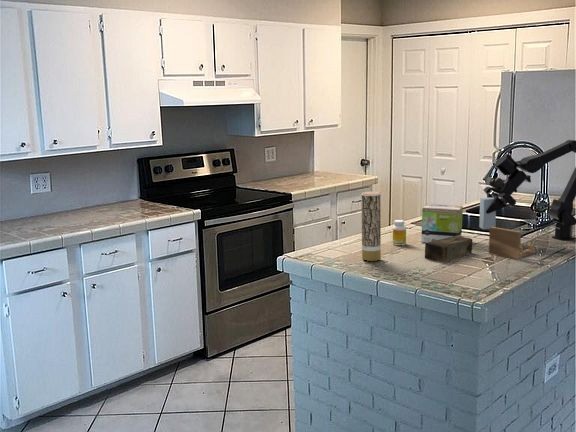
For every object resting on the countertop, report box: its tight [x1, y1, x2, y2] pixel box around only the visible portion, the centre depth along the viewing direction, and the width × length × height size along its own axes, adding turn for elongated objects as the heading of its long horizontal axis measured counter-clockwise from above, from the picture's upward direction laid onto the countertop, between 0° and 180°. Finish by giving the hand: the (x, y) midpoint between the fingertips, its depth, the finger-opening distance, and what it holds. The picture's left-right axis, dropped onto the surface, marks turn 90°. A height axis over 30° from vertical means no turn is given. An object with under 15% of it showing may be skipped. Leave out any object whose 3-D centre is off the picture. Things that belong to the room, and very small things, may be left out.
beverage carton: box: [424, 235, 473, 263], centre depth 228 cm, size 8×19×7 cm, turn 128°
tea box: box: [421, 203, 464, 243], centre depth 249 cm, size 15×10×15 cm
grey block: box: [478, 197, 497, 230], centre depth 244 cm, size 5×4×12 cm
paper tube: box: [361, 191, 382, 262], centre depth 224 cm, size 7×7×25 cm
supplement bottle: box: [392, 219, 407, 246], centre depth 247 cm, size 5×5×10 cm
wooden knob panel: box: [488, 226, 537, 260], centre depth 228 cm, size 13×12×10 cm
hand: (484, 212), depth 244 cm, fingers closed on grey block, 4 cm apart
